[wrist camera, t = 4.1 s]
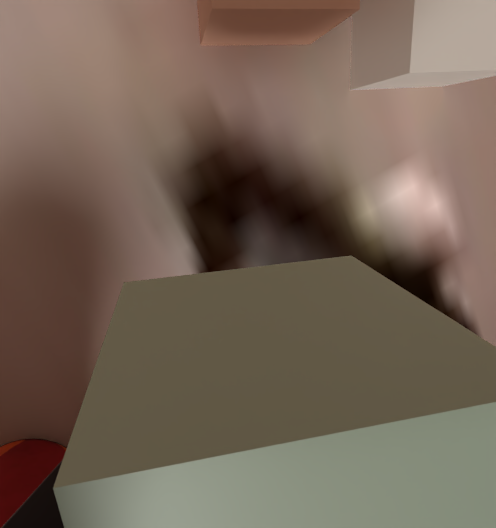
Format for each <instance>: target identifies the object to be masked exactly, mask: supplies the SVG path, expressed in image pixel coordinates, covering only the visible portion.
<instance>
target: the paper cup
mask: <svg viewBox="0 0 496 528" xmlns="http://www.w3.org/2000/svg"><path fill="white" fill-rule="evenodd" d="M66 449H67V448H66V447H64V446H62V445H60V444H57V443H55V442H51V441H47V440H41V439H25V440H18V441H14V442H11V443H8V444H5V445H3V446H1V447H0V528H1V527H2V526H3V525H4V524H5V523H6V522H7V521H8V520H9V518H10V517H11V516H12V515H13V514H14V513H15V512H16V511H17V510H18V508H19V507H20V506H21V505H22V504H23V503H24V502H25V501H26V500H27V498H28V497H29V496H30V495H31V494H32V493H33V492H34V491H35V490H36V488H37V487H38V486H39V485H40V484H41V483H42V482H43V481H44V480H45V478H46V477H47V476H48V475H49V474H50V473H51V472H52V471H53V470H54V468H55V467H56V466H57V465H58V464H59V463H60V462H61V461H62V460H63V458H64V455H65V452H66Z"/></svg>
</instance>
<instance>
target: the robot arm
mask: <svg viewBox="0 0 496 528" xmlns="http://www.w3.org/2000/svg"><path fill="white" fill-rule="evenodd" d="M62 461H63V460H62ZM62 461H61V462H60V463H59V464H58V465H57V466H56V467H55V468H54V470H53V471H52V472H51V473H50V474H49V475H48V476H47V477H46V478H45V480H44V481H43V482H42V483H41V484H40V485H39V486H38V487H37V488H36V490H35V491H34V492H33V493H32V494H31V495H30V496H29V497H28V498H27V500H26V501H25V502H24V503H23V504H22V505H21V506H20V507H19V508H18V510H17V511H16V512H15V513H14V514H13V515H12V516H11V517H10V518H9V520H8V521H7V522H6V523H5V524H4V525H3V526H2V527H1V528H64V525H63V522H62V518H61V515H60V511H59V508H58V504H57V501H56V497H55V494H54V490H53V487H54V484H55V481H56V478H57V475H58V472H59V469H60V466H61V464H62Z"/></svg>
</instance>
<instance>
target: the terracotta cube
mask: <svg viewBox="0 0 496 528" xmlns="http://www.w3.org/2000/svg"><path fill="white" fill-rule="evenodd" d="M197 5H198V18H199V31H200V44H201V46H209V45H305V44H311V43H313V42H314V41H316V40H317V39H318V38H320V37H321V36H323V35H324V34H325V33H327V32H328V31H330V30H331V29H333V28H334V27H335V26H337V25H338V24H340V23H341V22H342V21H344V20H345V19H347V18H348V17H350V16H351V15H352V14H354V13H355V12H357V11H358V10H359V9H360V0H197Z"/></svg>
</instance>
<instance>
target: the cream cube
mask: <svg viewBox="0 0 496 528" xmlns="http://www.w3.org/2000/svg"><path fill="white" fill-rule="evenodd" d="M492 76H496V0H360V9H359V10H358V11H357V12H355V13H354V14H352V30H351V69H350V90H365V89H390V88H416V87H441V86H447V85H452V84H457V83H462V82H467V81H472V80H477V79H482V78H487V77H492Z"/></svg>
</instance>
